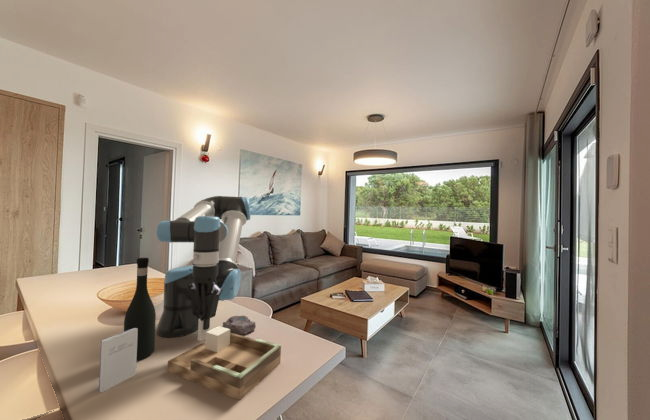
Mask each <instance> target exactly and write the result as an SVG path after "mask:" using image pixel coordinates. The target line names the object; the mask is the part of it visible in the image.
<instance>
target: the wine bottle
mask: <svg viewBox="0 0 650 420" xmlns="http://www.w3.org/2000/svg"><path fill="white" fill-rule="evenodd" d="M149 260H150V259H149V257H138V258H137V259H136V265H137V266H136V286H135V292H134V295H133V297H132V299H131V301H130V303H129V306H128V307H127V310H126V313H125V315H124V319H123V320H124V321H123V332H125V331H127V330H130V329H133V328H138V336H137V361H141V360H143V359H146V358H148V357H149V356H151V355H152V354H153V353H154V351H155V345H156V344H155V343H156V339H155V338H156V337H155V336H156V321H157V318H156V317H157V314H156V309H155V304H154V302H153V301H152V299H151V297H150V294H149V291H148V271H149V270H148V268H149V262H150V261H149Z"/></svg>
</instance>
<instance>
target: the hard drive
mask: <svg viewBox="0 0 650 420" xmlns="http://www.w3.org/2000/svg"><path fill="white" fill-rule="evenodd" d="M137 336H138V328H133V329H130V330H127V331H125V332H124V331H122V332H120V333H117V334H115V335H112V336H109V337H106V338H104V339H102V340H100V355H99V357H100V360H99V381H98V382H99V383H98V392H100V393H104V392H106V391H108V390H109V389H111V388H113V387H115V386H117V385H118V384H119V385H120V383H122V382H124V381H126V380H128V379H130V378H132V377H133V376H134V375H136V374H137V361H138V360H137Z"/></svg>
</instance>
